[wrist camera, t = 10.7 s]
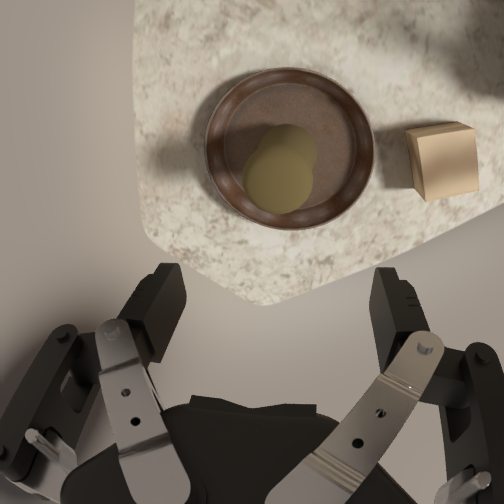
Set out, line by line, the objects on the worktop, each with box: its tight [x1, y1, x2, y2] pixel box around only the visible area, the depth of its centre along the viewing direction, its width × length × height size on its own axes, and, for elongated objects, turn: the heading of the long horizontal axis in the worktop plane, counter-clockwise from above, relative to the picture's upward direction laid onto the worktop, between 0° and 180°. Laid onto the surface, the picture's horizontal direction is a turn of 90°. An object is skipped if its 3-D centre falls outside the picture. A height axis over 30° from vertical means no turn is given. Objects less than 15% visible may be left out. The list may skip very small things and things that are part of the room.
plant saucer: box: [204, 67, 375, 230], centre depth 32 cm, size 18×18×3 cm
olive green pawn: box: [242, 124, 318, 214], centre depth 26 cm, size 6×6×11 cm
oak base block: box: [405, 122, 479, 202], centre depth 29 cm, size 7×7×4 cm
